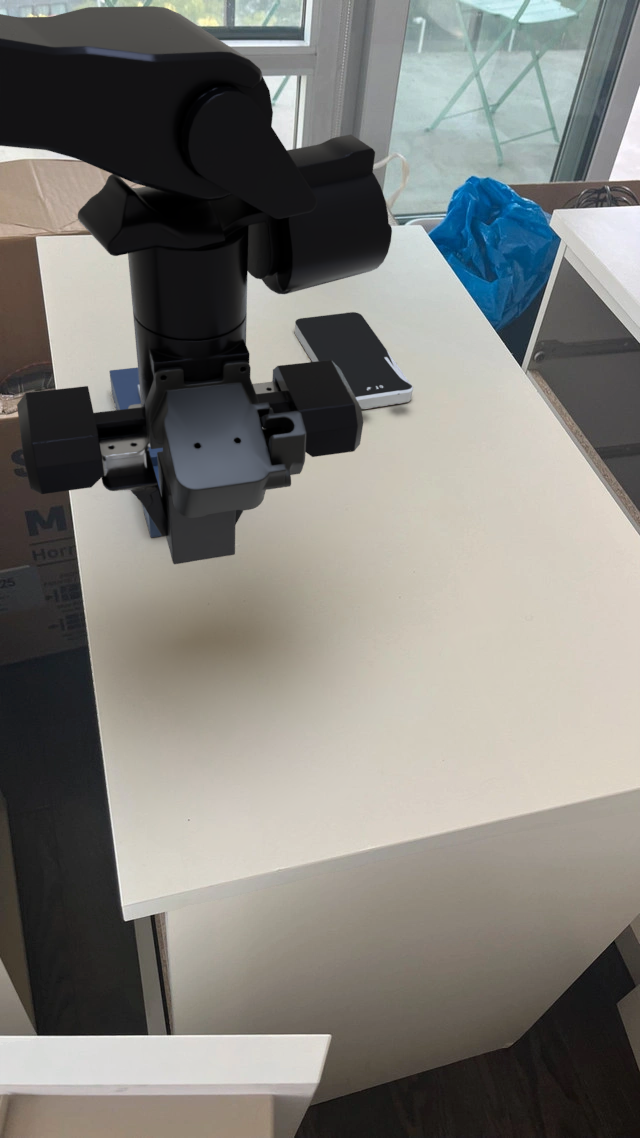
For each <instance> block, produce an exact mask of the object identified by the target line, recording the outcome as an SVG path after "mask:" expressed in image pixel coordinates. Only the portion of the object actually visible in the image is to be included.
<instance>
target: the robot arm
mask: <svg viewBox="0 0 640 1138" xmlns="http://www.w3.org/2000/svg"><path fill="white" fill-rule="evenodd" d="M273 115H274V111H273V105H272V97H271V92H270V89H269V87H268V85H267V83H266V80H265V79H264V76H263V71H262V70H261V68H260V67H259V66H258V65H256V64H255V63H254V62H253V61H252V60H250V58H248V57H246V56H245V55H243V54H241V53H240V52H238V51H237V50H235V49H234V48H233V47H231V46H229V45H228V44H226V43H225V42H224V41H222V40H221V39H219V38H217V36H214V35H213V34H211V33H210V32H208V31H207V30H205V29H203V28H202V27H201V26H199V25H197V24H196V23H194V22H193V21H191V20H190V19H189V18H187V17H185V16H184V15H182V14H181V13H179V12H176V11H174V10H172V9H169V8H168V7H163V6H156V5H155V6H154V5H150V6H149V5H148V6H147V5H145V6H142V5H141V6H140V5H139V6H87V7H83V8H79V9H75V10H72V11H71V10H70V11H67V12H64V13H59V14H56V15H52V16H13V15H8V14H2V13H0V147H9V148H19V149H28V150H29V149H30V150H41V151H47V152H52V153H56V154H57V155H58V154H60V155H63V156H66V157H69V158H72V159H75V160H79V161H81V162H83V163H86V164H87V165H90V166H93V167H95V168H97V169H100V170H102V171H104V172H106V173H109V176H108V177H107V179H106V181H105V183H104V185H103V187H102V188H101V189H100V190H99V191H98V192H97V193H96V194H94V195H93V196H91V197H90V198H89V199H88V200H87V202H86V203H84V205H83V206H82V207H81V208H80V209H79V210H78V212H77V219H78V222H79V223H80V224H81V225H82V226H83V227H84V228H85V229H86V230H87V232H89V234H90V235H91V236H92V237H93V238H94V239H95V240H96V241H97V242H98V243H99V244H100V245H101V246H102V247H103V249H104V250H105V251H106V252H107V253H108V254H109V255H111V256H113V257H118V256H123V255H127V258H128V259H127V260H128V271H129V281H130V293H131V294H130V295H131V306H132V315H133V328H134V339H135V349H136V360H137V361H136V362H137V367H138V374H139V385H140V396H141V404H134V405H130V406H129V407H128V409H122V410H116V409H115V410H107V411H106V410H105V411H98V412H97V411H96V412H94V409H93V408H94V407H93V403H92V399H91V393H90V389H89V385H84V386H76V387H75V386H74V387H65V388H57V389H47V390H39V391H38V390H37V391H29V392H25V393H24V394H23V396H22V397H21V398H20V400H19V401H18V403H17V404H16V408H17V415H18V416H17V417H18V425H19V432H20V442H21V451H22V455H23V462H24V467H25V471H26V472H25V473H26V476H27V481H28V485H29V489H30V490H32V491H34V492H37V493H38V494H41V495H47V494H54V493H60V492H62V493H63V492H67V491H76V490H83V489H90V488H91V489H92V487H94V485H96V484H97V483H98V481H100V480H101V482H102V486H104V489H106V490H107V491H109V492H118V491H119V492H121V491H130V492H131V493H132V494H133V495H134V496H135V497H136V498H137V499H138V501H139V502H140V503H141V505H142V504H143V506H144V507H145V509H146V510H147V512H148V514H149V515H150V517H151V519H152V520H153V522H154V524H155V525H156V527H157V529H158V530H159V532H160V533H161V535H162V536H161V537H166V536H168V520H167V516H166V512H165V508H164V504H163V500H162V497H161V493H160V489H159V485H158V482H157V478H156V474H155V470H154V467H153V463H152V459H151V456H150V452H149V447H151V449H157V448H163V456H164V461H165V465H166V470H167V475H168V479H169V484H170V489H171V495H172V500H173V504H174V507H175V508H176V510H177V511H178V512H179V513H180V514H181V515H183V516H185V517H189V518H197V517H204V516H206V515H208V514H213V513H220V512H226V511H233V510H236V519H235V526H236V525H237V523H238V522H239V520H240V518H241V516H242V514H243V513H244V511H250V510H254V509H256V508H258V507H259V506H260V505H261V504H262V503H263V501H264V499H265V496H266V491H269V490H275V489H282V488H288V487H291V486H292V476H294V475H300V474H301V473H302V471H303V469H304V465H305V462H306V454H307V455H309V456H310V457H311V458H317V457H322V456H331V455H339V454H344V453H353V452H355V451H356V450H357V449H358V448H359V446H360V445H361V440H362V434H363V428H364V416H363V411H362V410H363V409H362V410H361V407H360V405H359V403H358V401H357V399H356V397H355V396H354V394H353V392H352V390H351V388H350V386H349V384H348V382H347V381H346V379H345V377H344V375H343V373H342V371H341V369H340V368H339V367H338V366H337V365H336V364H335V363H334V362H333V361H332V360H327V361H317V362H312V361H309V362H301V363H299V362H298V363H290V364H282V365H281V364H280V365H276V366H275V367H274V368H273V369H272V379H271V380H272V381H267V382H266V381H265V382H258V383H257V382H256V383H253V381H252V379H251V369H252V368H251V365H250V351H249V349H248V347H247V320H248V319H247V318H248V317H247V315H248V309H247V308H248V273H249V275H250V276H251V277H253V278H254V279H257V280H261V281H262V282H263V284H264V285H265V286H266V287H267V288H268V289H269V290H270V291H271V292H274V293H275V294H277V295H288V294H292V293H295V292H298V291H302V290H307V289H309V288H314V287H317V286H321V285H325V284H329V283H332V282H333V283H334V282H337V281H339V280H343V279H347V278H351V277H355V276H359V275H362V274H366V273H370V272H372V271H374V270H377V269H379V267H380V266H381V265H383V263H384V262H385V259H386V257H387V256H388V254H389V250H390V247H391V243H392V234H393V228H392V225H391V224H390V221H389V213H388V207H387V201H386V198H385V194H384V192H383V189H382V186H381V184H380V183H379V181H378V178H377V176H376V175H375V174H374V166H375V157H376V151H375V149H374V148H372V147H371V146H369V145H368V144H367V143H366V142H363V141H362V140H360V139H359V138H357V137H356V136H354V135H353V134H346V135H341V136H335V137H333V138H330V139H327V140H325V141H324V142H321V143H317V144H314V145H307V146H303V147H297V148H292V149H287V148H286V146H285V145H284V144H283V142H282V141H281V140H280V138H279V136H278V135H277V133H276V131H275V129H274V128H273ZM124 180H125V181H124ZM126 181H128V182H131V183H132V184H133V183H134V184H136V185H140V187H132V186H130V185H129V184H128V183H126ZM141 186H142V187H141Z"/></svg>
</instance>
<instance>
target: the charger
mask: <svg viewBox="0 0 640 1138" xmlns="http://www.w3.org/2000/svg"><path fill="white" fill-rule="evenodd" d="M157 460H158V473H159V486H160V493H161V497H162V500H163V504H164V508H165V512H166V516H167V520H168V536H165V538H166V542H167V546H168V550H169V554H170V557H171V561H172V564H173V565H179V564H186V563H191V562H192V563H193V562H198V561H205V560H211V559H216V558H222V557H228V556H234V555H236V525H235V519H236V510H233V511H226V512H220V513H213V514H208V515H206V516H204V517H197V518H189V517H185V516H183V515H181V514H180V513H179V512H178V511H177V510H176V508H175V507H174V504H173V500H172V495H171V489H170V484H169V479H168V475H167V470H166V465H165V461H164V456H163V451H161V452H157Z"/></svg>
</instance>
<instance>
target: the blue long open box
mask: <svg viewBox="0 0 640 1138" xmlns="http://www.w3.org/2000/svg"><path fill="white" fill-rule="evenodd" d="M109 378H110V388H111V389H110V390H111V395H112V399H113V402H114V406H115V410H122V409H128V407H129V406H130V405H134V404H141V396H140V385H139V374H138V366H137V367H130V368H129V367H128V368H119V369H111V370H109ZM161 451H163V448H157V449H151V447H149V452H150V456H151V459H152V463H153V467H154V470H155V474H156V478H157V482H158V485H159V473H158V460H157V452H161ZM159 489H160V486H159ZM141 507H142V511H143V514H144V518H145V521H146V526H147V530H148V533H149V536H150V538H151V539H152V538H159V537H163V536H162V535H161V533H160V532H159V530H158V529H157V527H156V525H155V524H154V522H153V520H152V519H151V517H150V515H149V514H148V512H147V510H146V509H145V507H144V506H143V504H142V503H141Z"/></svg>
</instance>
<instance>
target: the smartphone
mask: <svg viewBox="0 0 640 1138" xmlns="http://www.w3.org/2000/svg"><path fill="white" fill-rule="evenodd" d="M294 334H295V336H296V338H297V340H298V341H299V343H300V344H301V346H302V348H303V349H304V351H305V353H306V354H307V356H308V358H309V359H310V362H317V361H327V360H332V361H333V362H334V363H335V364H336V365H337V366H338V367H339V368H340V369H341V371H342V373H343V375H344V377H345V379H346V381H347V382H348V384H349V386H350V388H351V390H352V392H353V394H354V396H355V397H356V399H357V401H358V403H359V405H360V407H361V410H367V409H368V410H369V409H374V408H381V407H387V406H393V405H399V404H405V403H406V404H407V403H410V402H411V401H412V398H413V397H412V396H413V392H414V386H413V384H412V383H411V382H410V381H409V379H408V378H407V376H406V375H405V374H404V372H403V370H402V369H401V368H400V366H399V365H398V363H397V362H396V361H395V359H394V358H393V357H392V355H391V354H390V352H389V351H388V350H387V348H386V346H384V344H383V343H382V341H381V340H380V338H379V337H378V336H377V335H376V333H375V331H374V330H373V328H372V327H371V326H370V324H369V323H368V322H367V320H366V319H365V318H364V316H363V315H362V314H361V313H359V312H355V311H351V312H341V313H334V314H324V315H318V316H317V315H315V316H309V317H308V316H307V317H299V318H298V319H296V320H295V323H294Z"/></svg>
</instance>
